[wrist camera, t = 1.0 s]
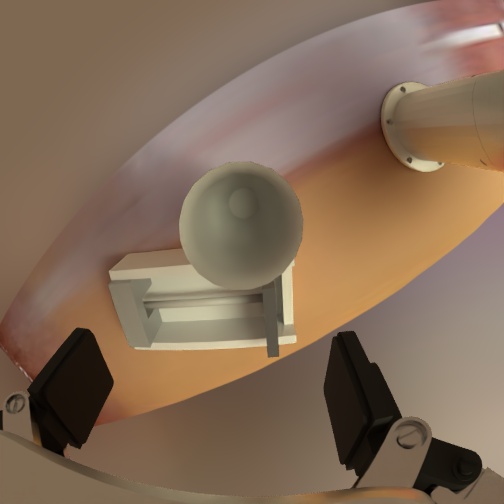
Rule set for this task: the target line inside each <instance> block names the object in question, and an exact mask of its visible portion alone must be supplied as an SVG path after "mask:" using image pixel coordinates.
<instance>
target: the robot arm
mask: <svg viewBox="0 0 504 504" xmlns="http://www.w3.org/2000/svg"><path fill="white" fill-rule="evenodd" d="M387 122H388V124H387ZM381 125H382V130H383V134H384V137H385V139H386V142H387V144H388V146H389V148H390V150H391V151H392V153H393V154H394V155H395V157H396V158H397V159H398V160H399V161H400V162H401V163H402V164H404V165H405V166H407V167H408V168H410V169H413V170H415V171H420V172H432V171H435V170H437V169H439V168H441V167H442V166H443V165H444V164H445V163H449V164H457V165H464V166H470V167H477V168H483V169H488V170H494V171H499V172H504V69H503V70H499V71H494V72H488V73H484V74H479V75H474V76H470V77H466V78H461V79H457V80H453V81H449V82H446V83H442V84H438V85H435V86H431V87H427V86H425V85H424V84H421V83H418V82H404V83H401V84H399V85H397V86H395V87H394V88H392V89H391V90H390V91H389V92H388V93H387V95H386V97H385V99H384V101H383V105H382V110H381ZM113 384H114V381H113V378H112V376H111V373H110V371H109V369H108V367H107V365H106V362H105V360H104V358H103V355H102V353H101V351H100V348H99V346H98V343H97V341H96V338H95V336H94V334H93V333H92V332H91V331H90V330H89V329H85V328H76V329H75V330H74V331H73V332H72V333H71V334H70V336H69V337H68V338H67V339H66V340H65V342H64V343H63V344H62V345H61V346H60V348H59V349H58V350H57V351H56V353H55V354H54V355H53V356H52V358H51V359H50V360H49V361H48V363H47V364H46V365H45V367H44V368H43V369H42V370H41V372H40V373H39V374H38V376H37V377H36V378H35V380H34V381H33V382H32V384H31V385H30V386H29V388H28V389H27V390H28V392H29V394H30V396H29V397H28V396H27V395H26V394H25V393H24V392H20V391H17V392H14V393H11V394H10V395H9V396H8V397H7V398H6V399H5V401H4V403H3V410H1V411H0V504H504V478H503V477H501V476H500V475H498V474H497V473H495V472H494V471H492V470H491V469H490V468H488V467H487V468H486V469H483V468H482V461H481V458H480V456H479V455H478V454H477V453H476V452H474V451H472V450H469V449H465V448H462V447H459V446H456V445H453V444H450V443H447V442H444V441H441V440H438V439H436V438H433V437H432V432H431V428H430V427H429V425H428V424H427V423H426V422H425V421H424V420H422V419H420V418H417V417H404V418H402V416H401V413H400V411H399V409H398V407H397V404H396V403H395V400H394V398H393V396H392V394H391V392H390V389H389V388H388V385H387V383H386V381H385V379H384V377H383V375H382V373H381V371H380V369H379V367H378V365H377V364H376V363H370V362H369V360H368V358H367V356H366V354H365V352H364V350H363V348H362V346H361V344H360V342H359V339H358V337H357V335H356V333H355V332H354V331H346V332H339V333H338V334H337V336H335V337H333V339H332V345H331V351H330V356H329V362H328V367H327V372H326V378H325V383H324V395H325V400H326V403H327V407H328V412H329V416H330V420H331V425H332V429H333V433H334V438H335V442H336V447H337V451H338V456H339V461H340V463H341V464H342V465H343V464H345V465H346V470H352V469H355V473H356V475H357V476H359V477H358V478H357V480H356V482H355V483H354V484H353V486H352V487H351V489H344V490H336V491H328V492H319V493H311V494H301V495H287V496H255V497H254V496H247V497H246V496H223V495H209V494H200V493H192V492H184V491H178V490H171V489H166V488H160V487H156V486H151V485H147V484H143V483H138V482H135V481H131V480H127V479H124V478H120V477H117V476H113V475H110V474H107V473H104V472H101V471H98V470H95V469H92V468H90V467H87V466H84V465H82V464H79V463H77V462H74V461H72V460H70V456H69V453H68V450H67V444H68V443H69V444H70V445H71V446H73V447H75V448H78V449H80V448H81V446H82V444H84V443H86V441H87V439H88V437H89V434H90V432H91V430H92V428H93V426H94V424H95V422H96V420H97V418H98V416H99V413H100V411H101V409H102V407H103V405H104V403H105V401H106V399H107V397H108V395H109V393H110V391H111V389H112V387H113Z"/></svg>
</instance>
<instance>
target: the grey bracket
mask: <svg viewBox="0 0 504 504" xmlns="http://www.w3.org/2000/svg"><path fill="white" fill-rule="evenodd" d="M292 266H295V262H294V259H293V261H292V262H291V263H290V265H289V266H288V267H287V269H286V270H285V271H284V273H282V274H281V275H280V276H278V277H277V278H275V279H274V284H275V292H276V308H277V325H278V344H279V345H280V344H290V343H296V332H295V328H294V324H293V289H292ZM109 274H110V278H111V282H110V283H109V284H108V287H109V290H110V293H111V296H112V300H113V303H114V306H115V309H116V311H117V314H118V317H119V320H120V323H121V326H122V328H123V331H124V334H125V336H126V339H127V341H128V344H129V346H130V347H134V348H135V349H137V350H207V349H229V348H245V347H259V346H267V341H266V330H265V319H264V307H263V302H257V303H245V304H232V305H218V306H202V307H184V308H161V309H145V307H144V303H143V301H160V300H180V299H197V298H212V297H226V296H239V295H251V294H262V286H260V287H257V288H254V289H251V290H230V289H227V288H224V287H221V286H217V285H214V284H213V283H211V282H210V281H208V280H207V279H205V278H204V277H202V276H201V275H200V274H198V272H197V271H196V270H195V269H194V267H193V266H192V265H191V263H190V262H189V261H188V259H187V258H186V255H185V252H184V250H183V248H180V249H170V250H160V251H150V252H141V253H131V254H127V255H126V256H125V257H124V258H123V259H122V260H121V261H119V262H118V263H117V264H116V265H115V266H114V267H113V268H112V269H111V270H110V271H109Z"/></svg>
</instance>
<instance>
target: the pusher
mask: <svg viewBox="0 0 504 504" xmlns="http://www.w3.org/2000/svg"><path fill="white" fill-rule="evenodd" d="M257 302H263V307H264V319H265V330H266V341H267V352H268V357H278V356H279V344H278V325H277V308H276V292H275V284H274V280H273V281H271V282H270V283H268V284H266V285H263V286H262V294H251V295H239V296H226V297H212V298H197V299H180V300H160V301H143V303H144V307H145V309H161V308H184V307H202V306H218V305H232V304H245V303H257Z"/></svg>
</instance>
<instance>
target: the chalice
mask: <svg viewBox="0 0 504 504" xmlns="http://www.w3.org/2000/svg"><path fill="white" fill-rule="evenodd" d="M179 230H180V241H181V244H182V247H183V250H184V252H185V255H186V258H187V259H188V261H189V262H190V263H191V265H192V266H193V267H194V269H195V270H196V271H197V272H198V274H200V275H201V276H202V277H204V278H205V279H207V280H208V281H210V282H211V283H213V284H214V285H217V286H221V287H224V288H227V289H230V290H251V289H254V288H257V287H260V286H263V285H266V284H268V283H270V282H271V281H273V280H274V279H275V278H277V277H278V276H280V275H281V274H282V273H284V271H285V270H286V269H287V267H288V266H289V265H290V263H291V262H292V261H293V259H294V258H295V256H296V254H297V251H298V248H299V246H300V243H301V240H302V232H303V216H302V211H301V207H300V203H299V199H298V198H297V196H296V194H295V193H294V191H293V190H292V188H291V186H290V185H289V183H288V182H287V181H286V180H285V179H284V178H282V177H281V176H280V175H279V174H277V173H276V172H275V171H274V170H272V169H271V168H268V167H265V166H262V165H260V164H257V163H254V162H229V163H227V164H224V165H222V166H219V167H216V168H214V169H211V170H210V171H208V172H207V173H206V174H205V175H204V176H203V177H201V178H200V179H199V180H198V181H197V182H196V183H195V184H194V185H193V187H192V188H191V190H190V192H189V193H188V195H187V197H186V198H185V200H184V202H183V206H182V210H181V214H180V219H179Z"/></svg>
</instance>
